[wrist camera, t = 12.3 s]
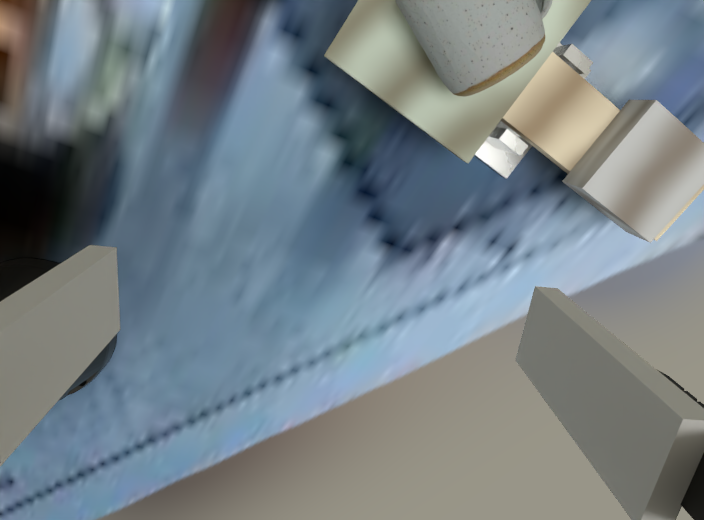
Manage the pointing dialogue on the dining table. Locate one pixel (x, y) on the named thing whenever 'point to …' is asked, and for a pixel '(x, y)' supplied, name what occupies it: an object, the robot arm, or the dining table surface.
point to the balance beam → (536, 117)
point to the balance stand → (504, 142)
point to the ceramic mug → (477, 38)
